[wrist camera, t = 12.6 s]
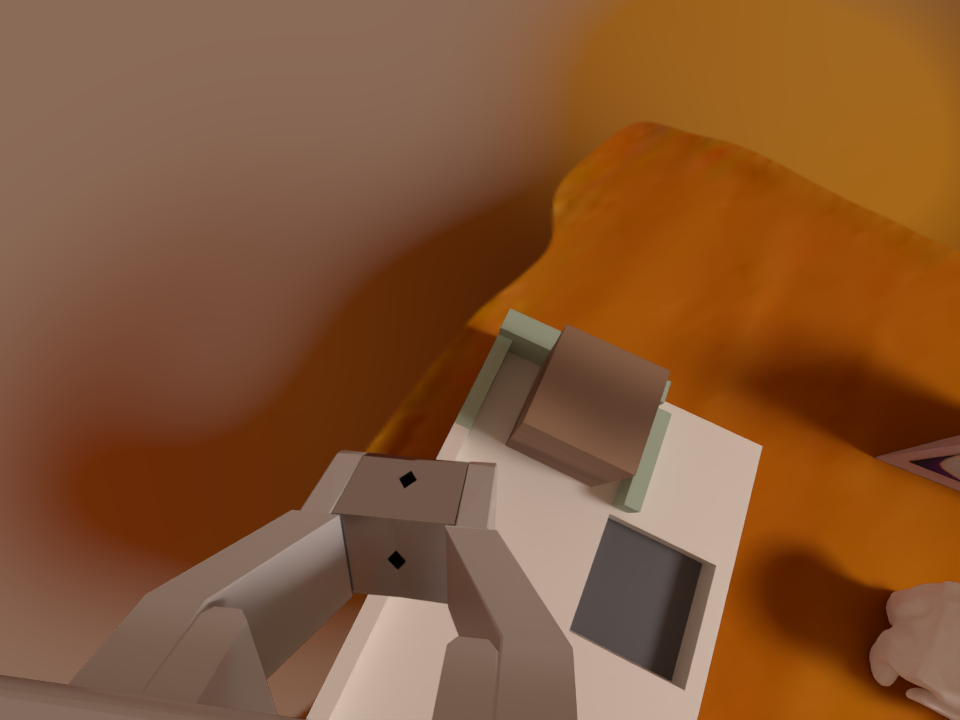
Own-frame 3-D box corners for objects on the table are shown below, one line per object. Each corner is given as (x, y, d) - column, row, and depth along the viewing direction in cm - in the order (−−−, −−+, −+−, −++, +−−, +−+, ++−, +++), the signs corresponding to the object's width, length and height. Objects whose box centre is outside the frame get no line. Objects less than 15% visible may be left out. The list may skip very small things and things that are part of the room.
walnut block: (591, 487, 29) (635, 475, 22) (505, 445, 29) (523, 422, 23) (622, 404, 31) (670, 371, 24) (540, 366, 31) (566, 323, 25)
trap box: (556, 1188, 20) (591, 1387, 16) (192, 960, 22) (123, 1079, 17) (744, 450, 32) (794, 438, 28) (501, 338, 34) (510, 308, 29)
